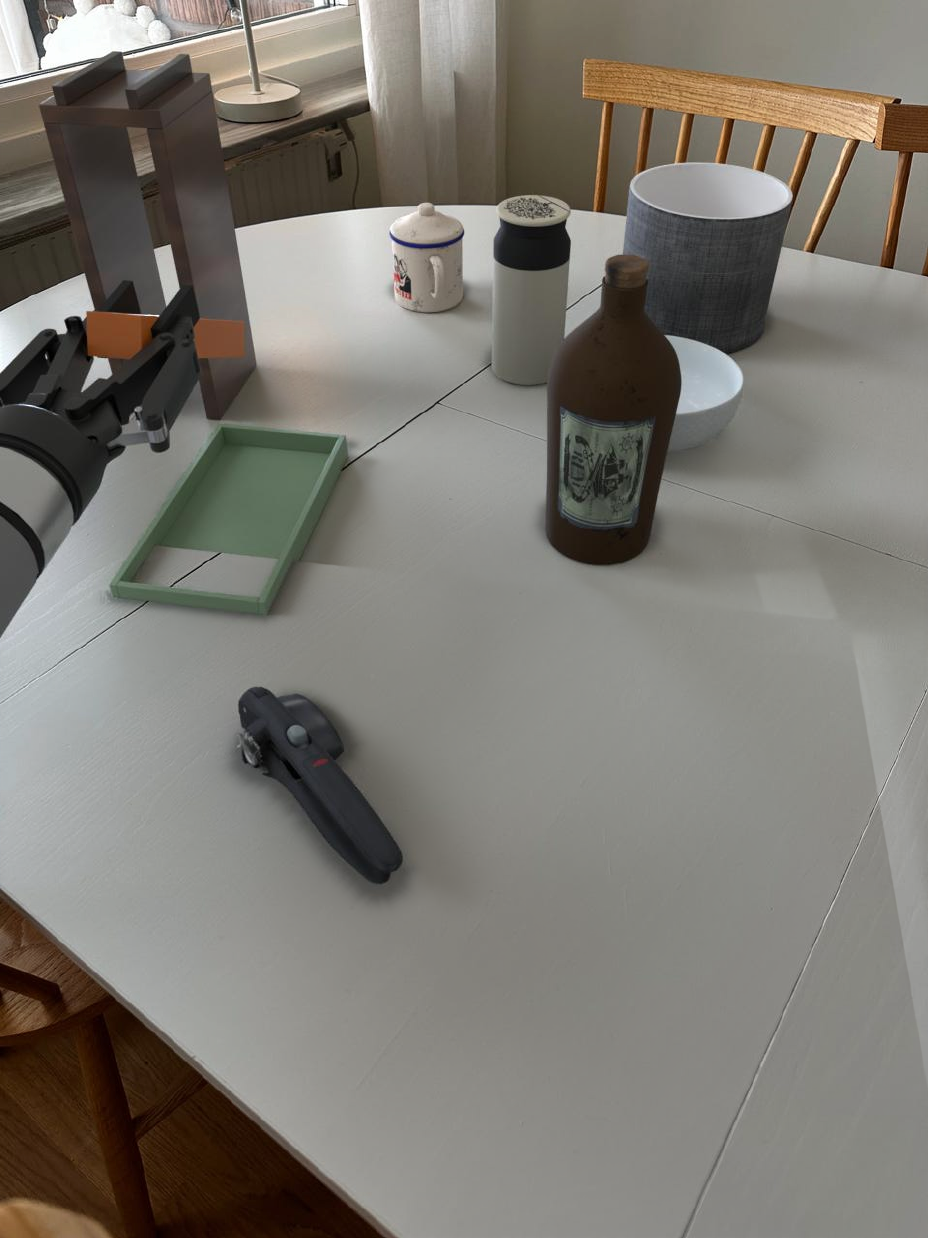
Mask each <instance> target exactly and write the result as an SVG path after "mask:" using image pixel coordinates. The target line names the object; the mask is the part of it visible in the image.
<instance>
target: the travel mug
mask: <svg viewBox="0 0 928 1238" xmlns="http://www.w3.org/2000/svg"><path fill="white" fill-rule="evenodd" d="M571 213H572V209H571V207H570V205H569V204H568V203H566V202H565V201H563V200H561V199H559V198H556V197H553V196H547V195H537V194H530V195H529V194H528V195H527V194H526V195H518V196H513V197H509V198H507V199H505V200H502V201H501V202H500V203H498V205H497V207H496V214H497V216H498V218H499V228H498V230H497V231H496V234H495V235H494V237H493V251H492V252H493V253H492V254H493V255H492V257H493V259H492V310H491V311H492V315H491V316H492V318H491V370H492V373H493V374H494V375H495V376H496V377H498V378H499V379H501V380H502V381H505V382H508V383H511V384H514V385H518V384H519V386H536V384H538V385H543V384H545V383H547V379H548V373H549V368H550V365H551V362H552V360H553V357H554V355H555V353H556V350H557V349H558V347H559V345H560V344H561V342H562V341H563V340H564V339H565V333H566V319H567V305H568V304H567V303H568V292H569V291H568V289H569V277H570V262H571V261H570V260H571V247H572V240H571V237H570V235H569V232H568V230H567V228H566V227H567V222H568V219H569V217H570V216H571Z"/></svg>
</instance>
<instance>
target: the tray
mask: <svg viewBox="0 0 928 1238" xmlns="http://www.w3.org/2000/svg"><path fill="white" fill-rule="evenodd" d="M348 451H349V450H348V441H347V434H338V433H331V432H330V433H329V432H318V431H309V430H308V431H307V430H298V429H297V430H296V429H287V428H286V429H285V428H274V427H264V426H253V425H243V424H242V425H241V424H232V423H231V424H230V423H223V422H222V423H220V422H218V423H217V424H216V426H215V427H214V429H213V430H212V432H211V433H210V435H209V436H208V438H207V440H206V441H205V443H204V444H203V445H202V446H201V448H200V450H199V451H198V452H197V454H196V456H195V457H194V459H192V462H191V463H190V464H189V466H188V468H187V469H186V470H185V472H184V473H183V475H182V476H181V478H180V479H179V481H178V482H177V484H176V485H175V487H174V488H173V489H172V491H171V492H170V494H169V495H168V497H167V498H166V500H165V501H164V503H163V504H162V506H161V507H160V509H159V510H158V512H157V513H156V515H155V516H154V517H153V519H152V521H151V522H150V523H149V525H148V527H147V528H146V530H145V531H144V533H143V534H142V535H141V537H140V539H139V540H137V543H136V544H135V545H134V547H133V548H132V550H131V552H130V553H129V555H128V556H127V558H126V559H125V560H124V562H123V563H122V565H121V566H120V568H119V570H118V571H117V573H116V574H115V575H114V577H113V578H112V580H110V583H109V588H110V592H111V595H112V597H113V598H121V599H127V600H128V599H129V600H136V601H144V602H145V601H146V602H154V603H161V604H162V603H163V604H171V605H178V606H179V605H180V606H186V607H187V606H189V607H194V608H195V607H196V608H204V609H215V610H221V611H230V612H239V613H247V614H254V615H255V614H256V615H265V616H266V615H268V613H269V612H270V611H269V610H270V609H271V606H272V604H273V603H274V600H275V598H276V596H277V594H278V592H279V590H280V588H281V586H282V583H283V581H284V580H285V577H286V576H287V573H288V571H289V569H290V567H291V565H292V562H299V561H300V559H301V557H302V555H303V553H304V551H305V548H306V547H307V544H308V543H309V540H310V538H311V536H312V533H313V532H314V530H315V527H316V525H317V523H318V521H319V520H320V517H321V514H322V512H323V510H324V509H325V506H326V504H327V501H328V500H329V498H330V496H331V494H332V492H333V489H334V487H335V485H336V483H337V481H338V479H339V476H340V474H341V472H342V470H343V468H344V467H345V464H346V462H347V459H348V458H349V452H348ZM154 546H155V547H164V548H173V549H182V550H192V551H200V552H209V553H219V554H227V555H228V554H229V555H238V556H245V557H246V556H247V557H253V558H264V559H272V560H277V562H276V563H275V566H274V568H273V570H272V572H271V574H270V576H269V577H268V579H267V581H266V584H265V586H264V588H263V590H262V592H261V594H260V596H250V595H242V594H234V593H224V592H218V591H217V592H216V591H207V590H199V589H190V588H181V587H173V586H164V585H156V584H146V583H140V582H139V583H137V582H131V581H132V580H133V579H134V576H135V575H136V573H137V572H138V570H139V569H140V567H141V566H142V564H143V563H144V562H145V560H146V558H147V557H148V555H149V554H150V553H151V550H152V549H153V547H154Z"/></svg>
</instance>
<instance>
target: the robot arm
mask: <svg viewBox="0 0 928 1238" xmlns="http://www.w3.org/2000/svg"><path fill="white" fill-rule="evenodd" d="M93 311H94V312H110V313H126V314H141V310H140V306H139V303H138V299H137V295H136V291H135V288H134V284H133V281H128V280H123V281H122V282H121V283H120V285H119V286H118V287H117V288H116V289H115V291H114V292H113V293H112V294H111V295H110V297H109V298H108V299H107V300H106V301H105V303H104V304H103V305H102V306H101V307H100V308H99V310H95V309H93ZM199 319H200V316H199V312H198V307H197V303H196V298H195V294H194V289H193V285H182V287H181V288H179V289H178V290H177V292H176V293H175V295H174V296H173V297H172V298H171V300H170V301H169V302H168V304H166V308H165V309H164V311H163V312H162V313H161V315H160V316H159V318H158V319H157V320H156V322H155V323H154V324H153V326H152V327H151V328H150V330H151V333H152V337H153V340H151V341H150V342H149V343H148V344H147V345H146V346H145V347H143V348H142V349H141V350H140V351H139V352H138V353H137V354H135V355H134V356H133V357H132V358H131V359H130V360H128V361H127V362H126V363H125V364H124V365H123V366H122V367H120V368H119V369H118V370H117V371H116V372H115V373H114V374H112V373H111V375H110V376H109V377H108V378H103V377H98V378H97V379H95V380H94V381H93V382H92V383H91V384H90V385H89V386H88V387H86V388H85V389H84V390H83V388H84V385H85V383H86V380H87V378H88V375H89V373H90V371H91V368H92V366H93V363H94V361H95V356H88V346H87V318H86V317H84V319H82V317H81V316H79V315H71V316H68V317H66V318H64V319H63V322H64V325H65V328H66V332H65V333H58V331H57V330H56V328H44V329H42V330H41V331H39V332H38V334H36V336H34V337H33V339H31V341H30V342H29V343H28V344H27V345H26V346H25V347H24V348H23V349H21V351H20V352H19V353H18V354H17V355H16V356H15V357H14V358H13V359H12V360H11V362H9V363H8V364H7V366H6V367H4V368H3V370H2V371H1V372H0V639H1V638H2V637H3V635H4V633H5V631H6V630H7V629H8V627H9V625H10V624H11V622H12V621H13V620H14V617H16V614H17V613H18V612H19V610H20V608H21V607H22V605H23V604H24V602H25V600H26V599H27V597H28V596H29V594H30V593H31V592H32V589H33V588H34V587H35V585H36V583H37V581H38V579H40V576H41V575H42V574H43V573H44V572H45V569H46V568H47V567H48V566H49V564H50V562H51V561H52V559H53V558H54V557H55V555H56V553H57V552H58V550H59V549H60V548H61V546H62V545H63V543H64V541H65V540H66V538H67V537H68V535H69V534H70V533H71V530H72V527H73V526H74V525H76V523H77V522H78V521H79V519H80V518H81V517H82V515H83V513H84V512H85V510H87V508H88V506H89V505H90V503H91V502H92V500H93V498H95V495H96V494H97V493H98V491H99V489H100V487H101V484H102V482H103V478H104V474H105V471H106V468H107V465H109V464H110V462H112V461H113V460H115V459H117V458H119V457H120V456H122V454H124V452H125V451H126V448H127V447H128V446H136V445H143V444H149V447H150V449H151V452H153V453H156V454H157V453H159V454H160V453H164V452H166V451H168V450H169V449H170V447H171V437H170V431H171V429H172V427H173V426H174V424H175V423H176V420H177V419H178V417H179V415H180V413H181V412H182V410H183V408H184V406H185V404H186V403H187V402H188V399H189V397H190V396H191V394H192V392H193V391H194V388H195V387H196V385H197V383H198V382H199V378H200V376H201V374H202V372H201V367H200V363H199V359H198V354H197V350H196V345H195V342H194V341H193V340H194V338H195V333H194V326H195V325H196V323H197V322H198V321H199ZM96 358H97V359H108V358H107V357H96ZM82 390H83V391H82ZM133 413H134V415H133V417H132V418H131V416H132V414H133ZM130 418H131V420H130Z"/></svg>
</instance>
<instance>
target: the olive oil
mask: <svg viewBox="0 0 928 1238" xmlns="http://www.w3.org/2000/svg"><path fill="white" fill-rule="evenodd" d="M648 268H649V263H648V262H647V261H646V260H645V259H643V258H641V257H639V256H635V255H628V254H623V253H622V254H616V255H612V256H610V257H608V258H607V259H606V260H605V263H604V273H605V275H604V276H603V277H602V279H601V291H600V292H601V293H600V305H599V307H598V309H597V310H596V311H595V312H593V313H592V314H591V315H590V316H589V317H588V318H587V319H585V320H584V321H582V322H581V323H580V324H579V325H578V326H576V327H575V328H574V329H573V330H571V332H569V333H568V335H566V336H564V340H563V341H562V342H561V344H560V345H559V347H558V349H557V350H556V353H555V355H554V357H553V360H552V362H551V365H550V368H549V373H548V379H547V382H546V493H545V495H546V496H545V523H544V524H545V525H544V526H545V528H544V529H545V530H544V531H545V535H546V538H547V541H548V543H549V544H550V545H551V547H552V548H553V549H555V551H556V552H558V553H559V554H561V555H562V556H564V557H565V558H568V559H570V560H572V561H574V562H578V563H581V564H585V563H586V565H591V564H592V566H613V565H619V564H622V563H625V561H626V562H628V561H631V560H633V559H635V558H636V557H638V556H639V555H641V554H642V553H643V552H644V551H645V549H646V548H647V546H648V545H649V542H650V538H651V534H652V528H653V524H654V519H655V518H654V517H655V513H656V508H657V504H658V503H657V502H658V498H659V493H660V487H661V483H662V478H663V473H664V469H665V465H666V460H667V455H668V452H667V451H668V447H669V442H670V438H671V433H672V429H673V425H674V420H675V416H676V412H677V407H678V403H679V399H680V394H681V385H682V379H681V370H680V364H679V360H678V356H677V354H676V351H675V349H674V348H673V346H672V344H671V343H670V341H669V340H668V339H667V338H666V336H665V335H664V334H663V333H662V332H661V331H660V329H659V328H658V327H657V326H656V325H655V324H654V323H653V321H652V320H651V319H650V318H649V317H648V315H647V314H646V312H645V310H644V307H645V301H646V295H647V288H648V280H647V279H646V275H647V274H648ZM618 563H619V564H618Z"/></svg>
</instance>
